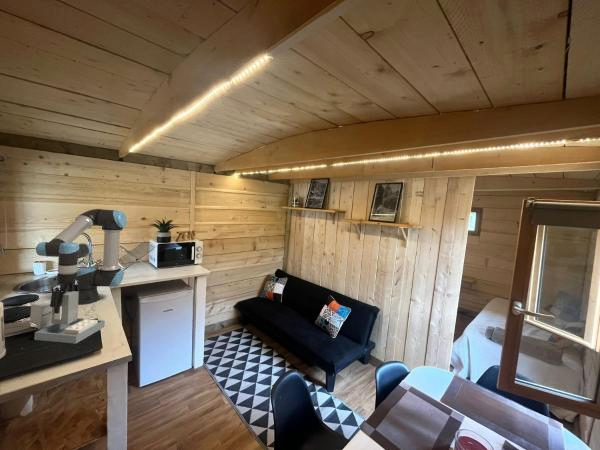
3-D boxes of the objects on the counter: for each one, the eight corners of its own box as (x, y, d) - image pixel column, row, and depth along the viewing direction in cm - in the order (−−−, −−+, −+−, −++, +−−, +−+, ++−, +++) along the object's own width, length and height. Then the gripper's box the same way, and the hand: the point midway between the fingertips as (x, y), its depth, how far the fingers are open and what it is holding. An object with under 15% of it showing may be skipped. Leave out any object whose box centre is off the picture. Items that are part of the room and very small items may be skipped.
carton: (84, 328, 136) (85, 317, 136) (97, 329, 136) (97, 318, 136) (63, 338, 124) (64, 327, 124) (78, 340, 124) (78, 328, 124)
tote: (68, 325, 139) (68, 317, 139) (104, 328, 139) (104, 320, 139) (34, 341, 121) (34, 332, 121) (75, 345, 121) (76, 336, 121)
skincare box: (77, 320, 133) (81, 291, 134) (66, 325, 126) (69, 294, 126) (61, 319, 133) (64, 289, 133) (48, 324, 126) (52, 293, 126)
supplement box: (39, 329, 132) (41, 306, 131) (29, 327, 133) (30, 304, 133) (55, 324, 139) (57, 301, 138) (45, 321, 140) (46, 299, 140)
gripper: (76, 267, 139) (74, 308, 139) (40, 276, 119) (37, 323, 120) (90, 269, 139) (87, 309, 140) (56, 278, 119) (53, 324, 120)
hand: (64, 315), depth 130 cm, fingers closed on skincare box, 7 cm apart
